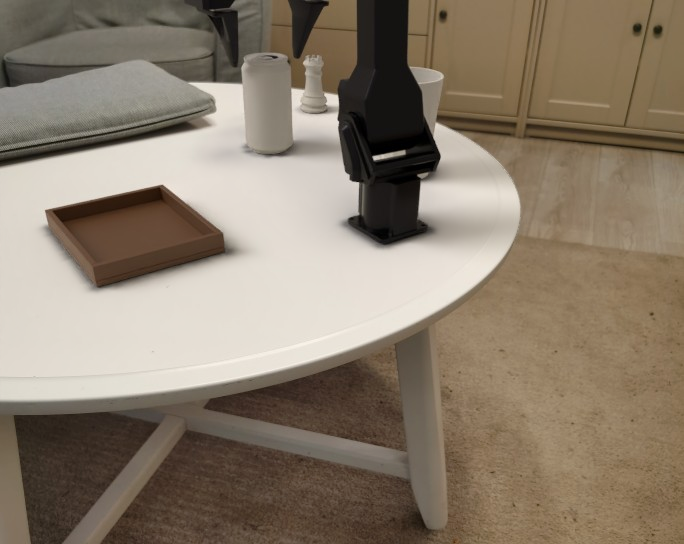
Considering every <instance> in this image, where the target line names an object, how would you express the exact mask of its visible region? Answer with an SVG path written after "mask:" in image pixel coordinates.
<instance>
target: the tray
mask: <svg viewBox="0 0 684 544" xmlns="http://www.w3.org/2000/svg"><path fill="white" fill-rule="evenodd" d="M44 213H45V217H46V221H47V226H48V228H49V230H50V232H52V234H53V235H54V236H55V237H56V239H58V241H59V242H60V243H61V245H62V246H63V247H64V248H65V249H66V251H67V252H68V254H70V256H71V257H72V258H73V259H74V261H75V262H76V263H77V264H78V266H79V267H80V268H81V270H83V272H84V273H85V274H86V276H87V277H88V278H89V280H90V281H91V282H92V283H93V284H94V286H95V287H96V288H98V287H102V286H106V285H110V284H113V283H116V282H120V281H124V280H128V279H130V278H131V279H132V278H134V277H139V276H142V275H145V274H150V273H152V272H156V271H159V270H163V269H167V268H170V267H174V266H177V265H181V264H185V263H189V262H192V261H196V260H200V259H202V258H208V257H210V256H214V255H218V254H221V253H225V252H226V248H225V237H224V235H225V234H224V232H223V231H222V230H220V229H219V228H218V227H217V226H216V225H214V224H213V223H212V222H210V221H209V220H208V219H207V218H206V217H204V216H203V215H201V214H200V213H199V212H198V211H197V210H196V209H194V208H193V207H192V206H190V204H188V203H187V202H185V201H184V200H182V198H181V197H179V196H178V195H176V194H175V193H174V192H173V191H172V190H170V189H169V188H168V187H167V186H165V185H164V184H158V185H154V186H153V185H152V186H149V187H143V188H139V189H135V190H130V191H125V192H122V193H121V192H120V193H117V194H112V195H108V196H103V197H97V198H94V199H88V200H85V201H79V202H76V203H75V202H74V203H71V204H66V205H62V206H57V207H52V208H48V209H44Z"/></svg>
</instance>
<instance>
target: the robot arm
mask: <svg viewBox="0 0 684 544" xmlns="http://www.w3.org/2000/svg"><path fill="white" fill-rule="evenodd" d="M183 1H184V4H185V5H188V6H191V7H194V8H195V10H196V11H197V12H198V13H202V14H204V15H206V16H207V17H208V19H209V20H210V22H211V24H212V25H213V27H214V29H215V31H216V32H217V35H218V37H219V40H220V43H221V44H222V47H223V50H224V52H225V55H226V57H227V59H228V62H229V64H230V66H231V67H232V68H234V69H236V68H237V69H238V66H239V58H240V57H239V56H240V55H239V54H240V53H239V51H240V50H239V49H240V47H239V11H238V10H237V9H234V8H232V5H234V2H235V1H236V0H183ZM287 2H288V5H289V8H290V10H291V48H292V56H293V58H294V59H296V60H299V59H301V58H302V54H303V52H304V50H305V47H306V45H307V43H308V41H309V38H310V37H311V36H310V35H311V33H312V31H313V28H314V26H315V25H316V23H317V21H318V19H319V18H320V15H321V14H322V12H323V10H324V8H325V7H329V6H330V1H329V0H287ZM409 19H410V0H356V64H355V67H354V68H353V71H352V72H351V74H350V76H349V78H342V79H340V80H339V82H338V86H337V98H338V111H337V113H338V114H337V122H338V125H337V131H338V137H339V144H340V150H341V157H342V164H343V168H344V172H345V173H346V174H347V175H349V177H348V179H349V181H350V182H352V183H358V207H357V208H358V211H357V212H358V213H359V214H357V215H353V216H349V217H348V218H347V224H349V225H350V226H352V227H354V228H355V229H357V230H358V231H360V232H361V233H363V234H365V235H367V236H368V237H369V238H371V239H373V240H374V241H375V242H378V243H379V244H386V243H390V242H393V241H397V240H400V239H403V238H406V237H409V236H413V235H416V234H419V233H423V232H426V231H428V230H429V224H427V223H425V222H424V221H422V220H421V219H419V208H420V199H421V198H420V196H421V185H422V179H421V178H420V177H418V175H419V174H424V173H428V174H429V173H430V174H431V173H436V172H437V169H438V166H439V164H440V161H441V158H442V155H441V152H440V149H439V148H438V145H437V143H436V140H435V138H434V136H433V135H432V133H431V130H430V128H429V126H428V123H427V121H426V118H425V116H424V110H423V94H422V90H421V88H420V86H419V84H418V82H417V80H416V79H415V77H414V75H413V73H412V71H411V69H410V67H411V66H409V60H408V59H409V24H410V23H409V21H410V20H409ZM403 150H405V153H406V154H404V155H399V156H394V157H389V158H384V159H380V158H379V159H375V160H374V157H378V156H380V155H383V154H388V153H393V152H398V151H403Z"/></svg>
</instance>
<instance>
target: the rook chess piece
mask: <svg viewBox="0 0 684 544" xmlns="http://www.w3.org/2000/svg"><path fill="white" fill-rule="evenodd" d="M324 64H325V63H324V61H323V59H322V56H321V55H320V54H319V55H315V54H311V55H306V56H305V57H304V61H303V62H302V65H303V66H304V68H305V72H304V75H305V85H304V90H303V92H302V95H301V97H300V103H301V104H300V105H299V108H300V110H301V111H302V112H304V113H307V114H318V113H319V114H321V113H325V111H327V109H328V107H329V106H328V104H327V103H328V99H327V96H325V92H324V89H323V83H322V76H323V72H322V68H323V66H324Z"/></svg>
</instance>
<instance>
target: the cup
mask: <svg viewBox="0 0 684 544" xmlns="http://www.w3.org/2000/svg"><path fill="white" fill-rule="evenodd" d="M409 67H410V69H411V71H412V73H413V75H414V77H415V79H416V80H417V82H418V84H419V86H420V88H421V90H422V94H423V110H424V116H425V118H426V121H427V123H428V126H429V128H430V130H431V133H432V135H433V137H435V129H436V124H437V123H436V122H437V117H438V111H439V105H440V101H441V96H442V90H443V85H444V79H445V75H444V74H443V73H442V72H441V71H439V70H435V69H432V68H427V67H426V68H425V67H419V66H409ZM404 154H406V153H405V150H403V151H398V152H393V153H388V154H383V155H379V159H384V158H389V157H394V156H399V155H404ZM428 176H429V173H424V174H419V175H418V177H420V178H421V180H423V179H425V178H427V177H428Z"/></svg>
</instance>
